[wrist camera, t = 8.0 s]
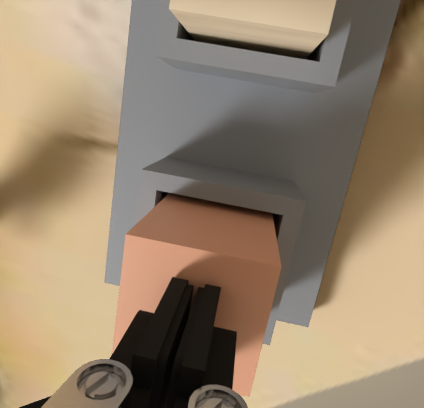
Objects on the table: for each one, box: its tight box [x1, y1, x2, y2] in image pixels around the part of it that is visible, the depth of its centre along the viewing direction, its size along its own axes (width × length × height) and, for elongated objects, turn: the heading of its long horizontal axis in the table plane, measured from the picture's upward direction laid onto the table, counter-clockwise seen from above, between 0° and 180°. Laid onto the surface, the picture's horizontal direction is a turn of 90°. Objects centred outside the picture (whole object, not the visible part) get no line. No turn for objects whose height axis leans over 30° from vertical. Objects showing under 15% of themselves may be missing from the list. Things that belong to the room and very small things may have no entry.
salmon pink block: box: [112, 193, 282, 397], centre depth 15 cm, size 5×5×7 cm
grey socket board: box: [104, 0, 401, 345], centre depth 17 cm, size 22×13×6 cm, turn 170°
